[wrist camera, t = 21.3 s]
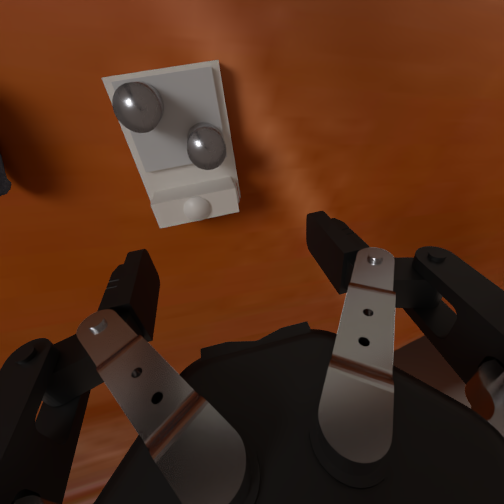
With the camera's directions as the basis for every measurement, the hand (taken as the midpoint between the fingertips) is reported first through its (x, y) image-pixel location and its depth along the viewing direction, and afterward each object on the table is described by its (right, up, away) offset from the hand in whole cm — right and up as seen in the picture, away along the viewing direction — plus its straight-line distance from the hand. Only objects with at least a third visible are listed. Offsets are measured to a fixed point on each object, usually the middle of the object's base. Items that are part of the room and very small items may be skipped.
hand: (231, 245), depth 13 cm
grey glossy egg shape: (-11, +17, +16) cm, 26 cm away
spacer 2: (-5, +14, +20) cm, 25 cm away
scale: (-9, +15, +22) cm, 28 cm away
